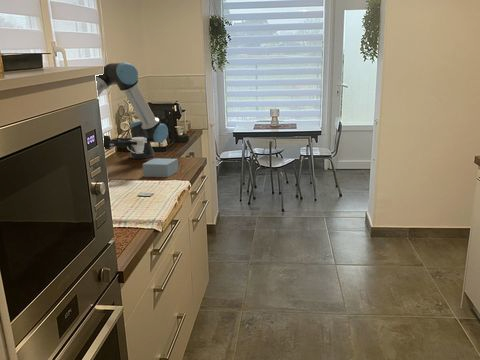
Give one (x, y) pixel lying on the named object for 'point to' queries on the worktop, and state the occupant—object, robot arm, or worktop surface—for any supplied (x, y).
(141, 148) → the cup
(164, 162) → the slate box
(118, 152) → the worktop surface
